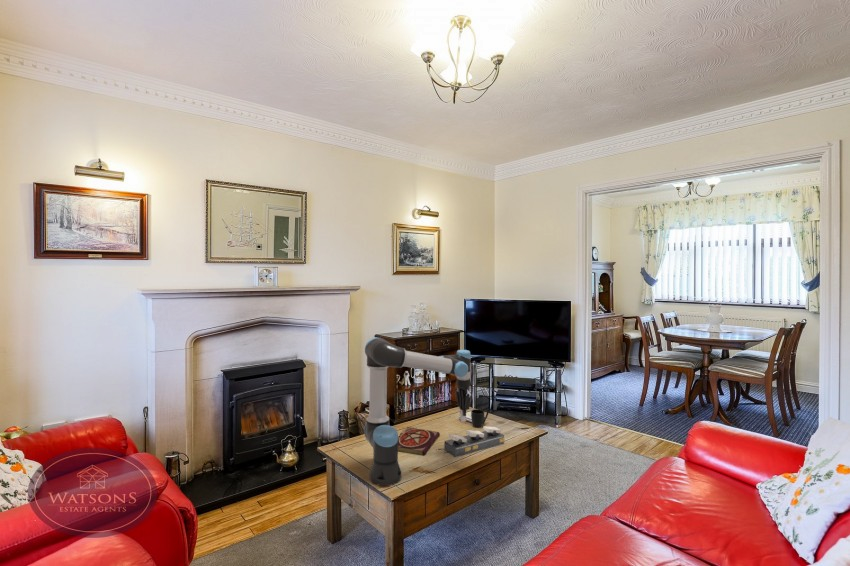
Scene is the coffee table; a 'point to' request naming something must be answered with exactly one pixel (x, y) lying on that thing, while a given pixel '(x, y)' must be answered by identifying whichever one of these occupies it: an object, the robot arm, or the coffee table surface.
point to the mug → (478, 417)
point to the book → (416, 440)
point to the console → (473, 444)
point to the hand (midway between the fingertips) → (463, 420)
